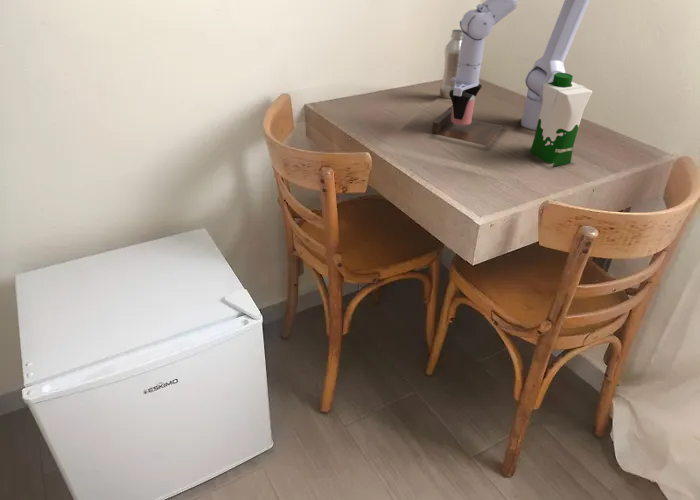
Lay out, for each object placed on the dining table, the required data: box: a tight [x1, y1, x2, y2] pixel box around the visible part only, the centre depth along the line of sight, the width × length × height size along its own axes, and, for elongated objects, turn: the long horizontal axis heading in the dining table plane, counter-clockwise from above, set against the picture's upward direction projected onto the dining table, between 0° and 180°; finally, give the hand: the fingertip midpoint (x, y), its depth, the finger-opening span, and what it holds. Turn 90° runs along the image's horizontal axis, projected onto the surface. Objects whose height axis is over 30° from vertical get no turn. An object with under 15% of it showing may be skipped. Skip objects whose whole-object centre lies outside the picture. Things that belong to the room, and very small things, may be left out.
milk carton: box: [529, 72, 593, 167], centre depth 126 cm, size 9×9×20 cm
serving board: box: [431, 104, 504, 147], centre depth 143 cm, size 15×15×4 cm
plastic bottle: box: [439, 29, 463, 100], centre depth 160 cm, size 6×7×20 cm
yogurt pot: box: [451, 93, 476, 125], centre depth 141 cm, size 6×6×7 cm
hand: (462, 115), depth 142 cm, fingers closed on yogurt pot, 5 cm apart
